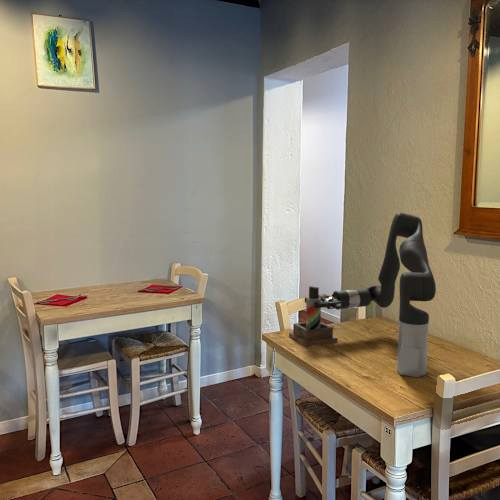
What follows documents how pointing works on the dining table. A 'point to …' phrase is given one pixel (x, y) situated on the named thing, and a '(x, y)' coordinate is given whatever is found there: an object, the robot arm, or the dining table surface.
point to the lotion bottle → (313, 309)
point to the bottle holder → (312, 334)
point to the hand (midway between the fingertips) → (309, 302)
